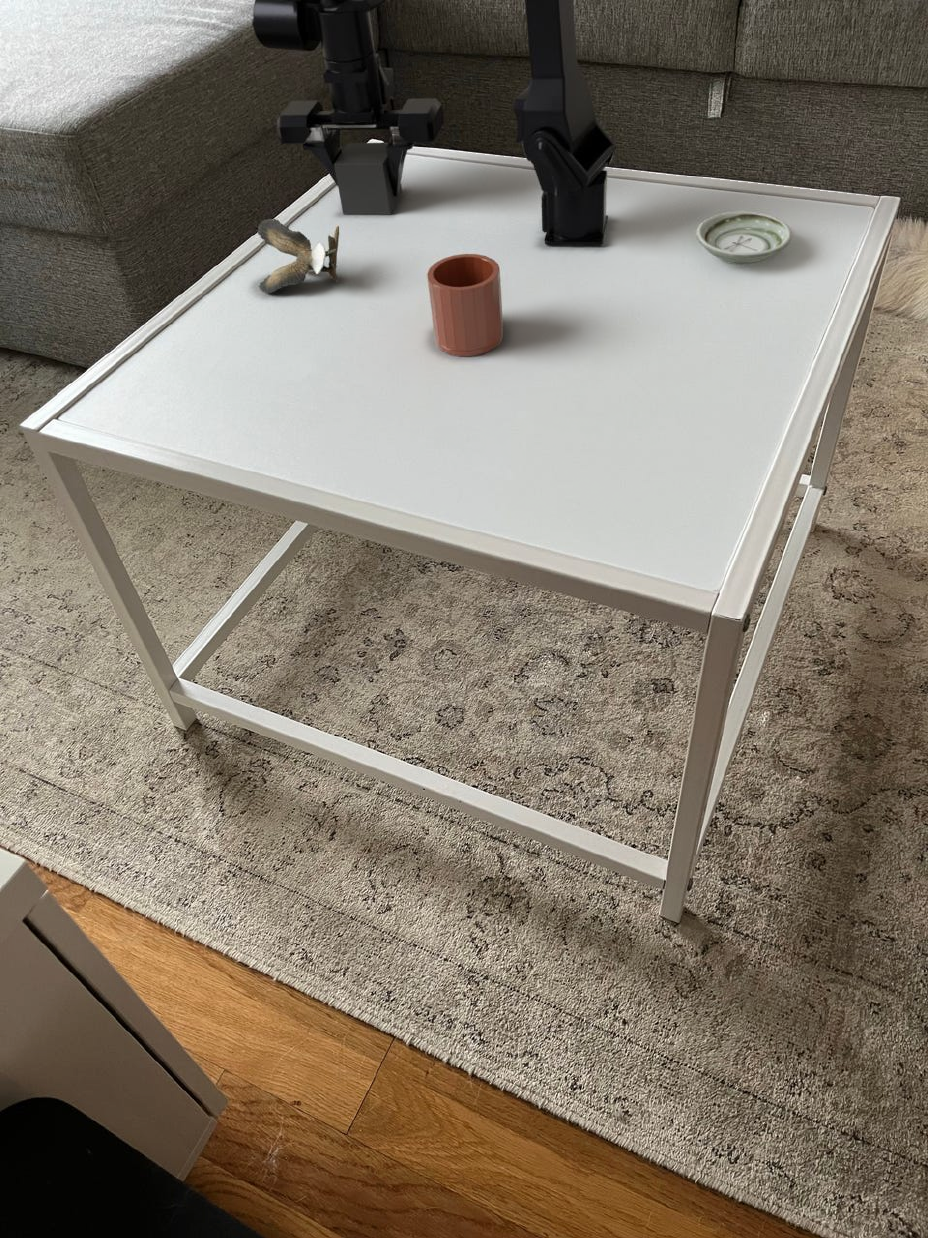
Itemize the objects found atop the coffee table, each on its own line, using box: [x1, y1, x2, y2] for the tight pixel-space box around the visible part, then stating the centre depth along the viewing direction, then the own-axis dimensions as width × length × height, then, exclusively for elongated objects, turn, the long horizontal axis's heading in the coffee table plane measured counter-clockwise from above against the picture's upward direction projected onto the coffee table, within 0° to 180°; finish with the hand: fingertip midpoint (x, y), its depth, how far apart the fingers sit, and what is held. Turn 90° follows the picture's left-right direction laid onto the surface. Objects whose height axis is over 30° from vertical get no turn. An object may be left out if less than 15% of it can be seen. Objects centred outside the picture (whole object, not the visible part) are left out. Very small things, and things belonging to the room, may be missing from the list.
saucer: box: [695, 210, 793, 265], centre depth 98 cm, size 10×10×2 cm
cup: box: [426, 253, 504, 357], centre depth 90 cm, size 7×7×7 cm
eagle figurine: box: [257, 218, 340, 294], centre depth 101 cm, size 8×7×9 cm
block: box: [334, 142, 403, 216], centre depth 113 cm, size 6×6×6 cm
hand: (371, 194), depth 114 cm, fingers closed on block, 6 cm apart
